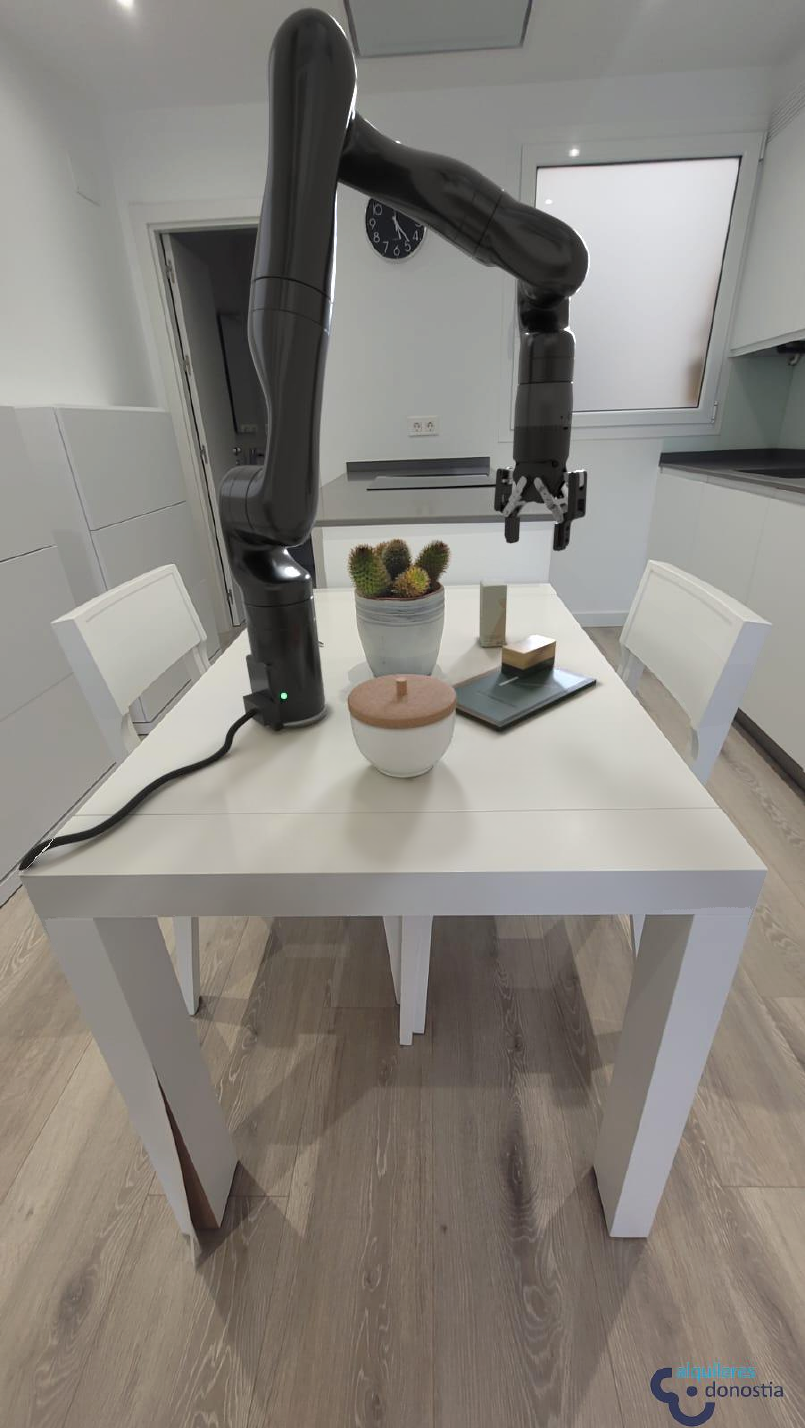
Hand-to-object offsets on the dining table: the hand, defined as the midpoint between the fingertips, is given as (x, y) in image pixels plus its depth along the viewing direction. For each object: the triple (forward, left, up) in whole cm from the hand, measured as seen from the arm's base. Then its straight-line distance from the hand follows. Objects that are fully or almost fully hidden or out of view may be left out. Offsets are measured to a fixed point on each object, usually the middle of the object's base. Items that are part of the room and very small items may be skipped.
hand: (535, 546), depth 86 cm
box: (+7, +14, -20) cm, 26 cm away
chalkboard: (-7, -3, -20) cm, 21 cm away
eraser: (0, 0, -19) cm, 19 cm away
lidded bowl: (-32, -7, -20) cm, 39 cm away
